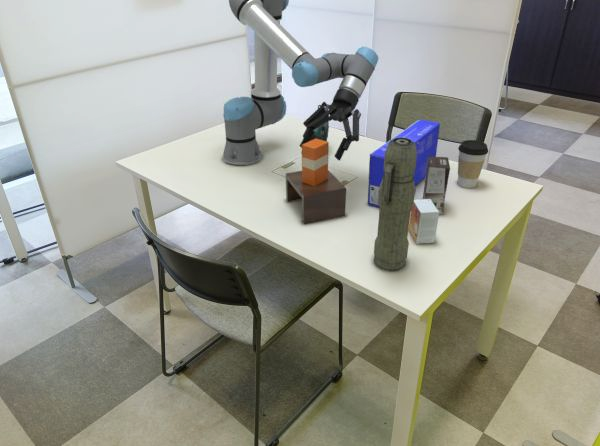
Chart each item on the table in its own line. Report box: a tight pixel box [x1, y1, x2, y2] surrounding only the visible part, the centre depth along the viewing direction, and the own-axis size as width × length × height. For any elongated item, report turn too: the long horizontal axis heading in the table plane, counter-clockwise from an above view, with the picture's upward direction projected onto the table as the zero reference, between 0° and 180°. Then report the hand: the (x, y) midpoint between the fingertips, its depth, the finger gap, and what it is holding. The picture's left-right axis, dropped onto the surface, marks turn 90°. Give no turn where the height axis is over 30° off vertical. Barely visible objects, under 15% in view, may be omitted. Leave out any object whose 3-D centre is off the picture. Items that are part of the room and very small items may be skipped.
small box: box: [408, 198, 440, 245], centre depth 140 cm, size 8×6×10 cm
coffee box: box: [422, 156, 451, 215], centre depth 154 cm, size 9×6×16 cm
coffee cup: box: [457, 139, 489, 189], centre depth 168 cm, size 10×10×15 cm
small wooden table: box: [285, 169, 347, 225], centre depth 156 cm, size 17×14×10 cm
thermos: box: [373, 138, 417, 272], centre depth 123 cm, size 9×12×35 cm
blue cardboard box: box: [367, 119, 441, 209], centre depth 167 cm, size 39×8×18 cm, turn 145°
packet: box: [301, 139, 330, 186], centre depth 150 cm, size 5×7×12 cm
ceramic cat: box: [310, 104, 330, 142], centre depth 191 cm, size 20×6×20 cm, turn 164°
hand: (319, 153), depth 150 cm, fingers open, 13 cm apart
